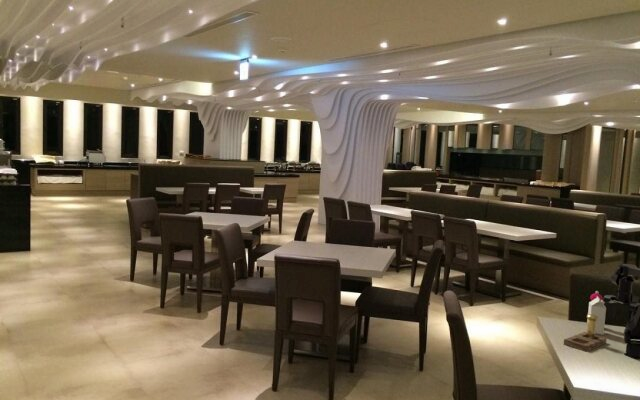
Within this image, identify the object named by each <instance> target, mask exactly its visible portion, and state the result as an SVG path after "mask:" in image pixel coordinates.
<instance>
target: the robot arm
mask: <svg viewBox="0 0 640 400" xmlns="http://www.w3.org/2000/svg"><path fill="white" fill-rule="evenodd" d="M633 277H637V278H640V268H639V267H638V265H637V266H636V265H635V264H630V263H629V264H628V263H620V264H619V265H618V266H617V268H616V269H615V271H614V273H613V274H611V276H610V281H611V283H612V284H614V285H616V286H618V289H616V293H617V296H616V295H613V294H607V295H604V296H603V297H602V300H603V301H604V302H605V303H604V304H606V305H607V307H608V309H609V312H610V314H611V316H612V318H614V317H615V316H616V309H617V307H616V306H617V305H618V304H619V305H620V304H621V305H624V306H627V307H629V309H628V321H627V322H626V325H625V327H624V328H625V329H624V331H623V338H624V339H623V341H624V343H625V344H626V345H625V346H626V347H625V353H623V354H624V356H628V357H629V358H632V359H635V360H640V302H639V299H640V297H639V296H637V295H634V291H632V290H633V283H635V280H634V279H633ZM638 287H639V288H640V281H639V282H638Z"/></svg>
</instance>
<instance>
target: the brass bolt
mask: <svg viewBox="0 0 640 400" xmlns="http://www.w3.org/2000/svg"><path fill="white" fill-rule="evenodd" d="M586 318H588V320H586V338H589V339H592V340H595V335H596V334H595V331H596V320H597V319H598V316H596V315H592V314H588V313H587V314H586Z"/></svg>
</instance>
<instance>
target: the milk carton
mask: <svg viewBox="0 0 640 400" xmlns="http://www.w3.org/2000/svg"><path fill="white" fill-rule="evenodd" d="M605 302H606V301H603V299H602V300H601V301H600V299H599V298H598V296H597V298H596V299H594V300H592V301H589V302H588V312H587V314H592V315H596V316H598V319H597V320H596V331H595V335H604V333H605V321H606V315H607V314H606V312H607V307H606V306H605V304H606V303H605ZM587 320H588V319H587ZM587 320H586V321H587Z"/></svg>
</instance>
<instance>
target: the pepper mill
mask: <svg viewBox="0 0 640 400" xmlns="http://www.w3.org/2000/svg"><path fill="white" fill-rule="evenodd" d="M597 296H598V298H599V299H600V301H601V300H603V296H602V295H601V294H600V292H599V291H598V290H596V291H595V293H592V294H591V295H590V297H589V298H590V300H591V301H592V300H594V299H596V298H597ZM591 301H590V302H591ZM586 318H587V317H586ZM587 319H588V318H587Z"/></svg>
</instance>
